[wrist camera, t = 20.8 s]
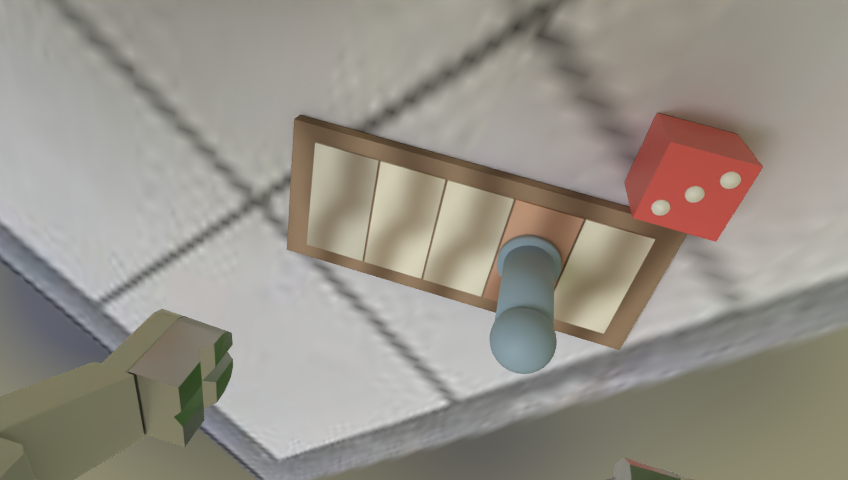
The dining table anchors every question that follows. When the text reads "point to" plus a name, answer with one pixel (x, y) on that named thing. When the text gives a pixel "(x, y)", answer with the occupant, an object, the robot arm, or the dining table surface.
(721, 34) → the dining table surface
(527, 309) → the pawn
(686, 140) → the red die
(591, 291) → the game track
